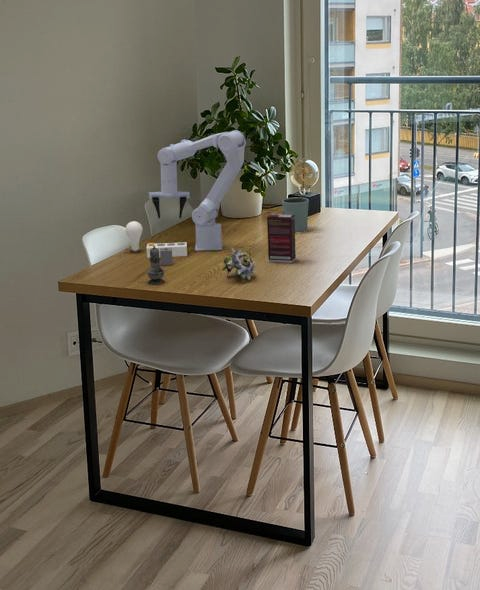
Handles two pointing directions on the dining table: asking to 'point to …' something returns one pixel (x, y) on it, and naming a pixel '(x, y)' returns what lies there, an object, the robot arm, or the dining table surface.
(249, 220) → the dining table surface
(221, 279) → the dining table surface
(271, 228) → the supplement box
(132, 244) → the lightbulb
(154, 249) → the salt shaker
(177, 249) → the power strip
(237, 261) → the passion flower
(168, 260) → the block
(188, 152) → the robot arm
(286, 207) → the grey green plant pot
